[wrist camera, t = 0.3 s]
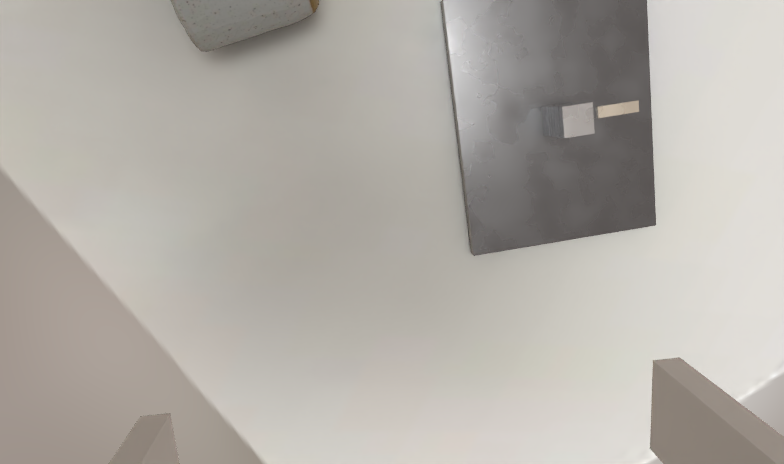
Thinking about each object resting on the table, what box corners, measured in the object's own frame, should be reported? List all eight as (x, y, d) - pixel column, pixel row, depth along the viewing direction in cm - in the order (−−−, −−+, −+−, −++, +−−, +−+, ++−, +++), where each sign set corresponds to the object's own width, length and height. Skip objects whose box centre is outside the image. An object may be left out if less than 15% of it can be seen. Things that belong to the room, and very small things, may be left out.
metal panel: (440, 2, 38) (453, -14, 33) (637, -28, 39) (679, -47, 34) (470, 252, 42) (487, 271, 37) (648, 222, 43) (687, 237, 38)
